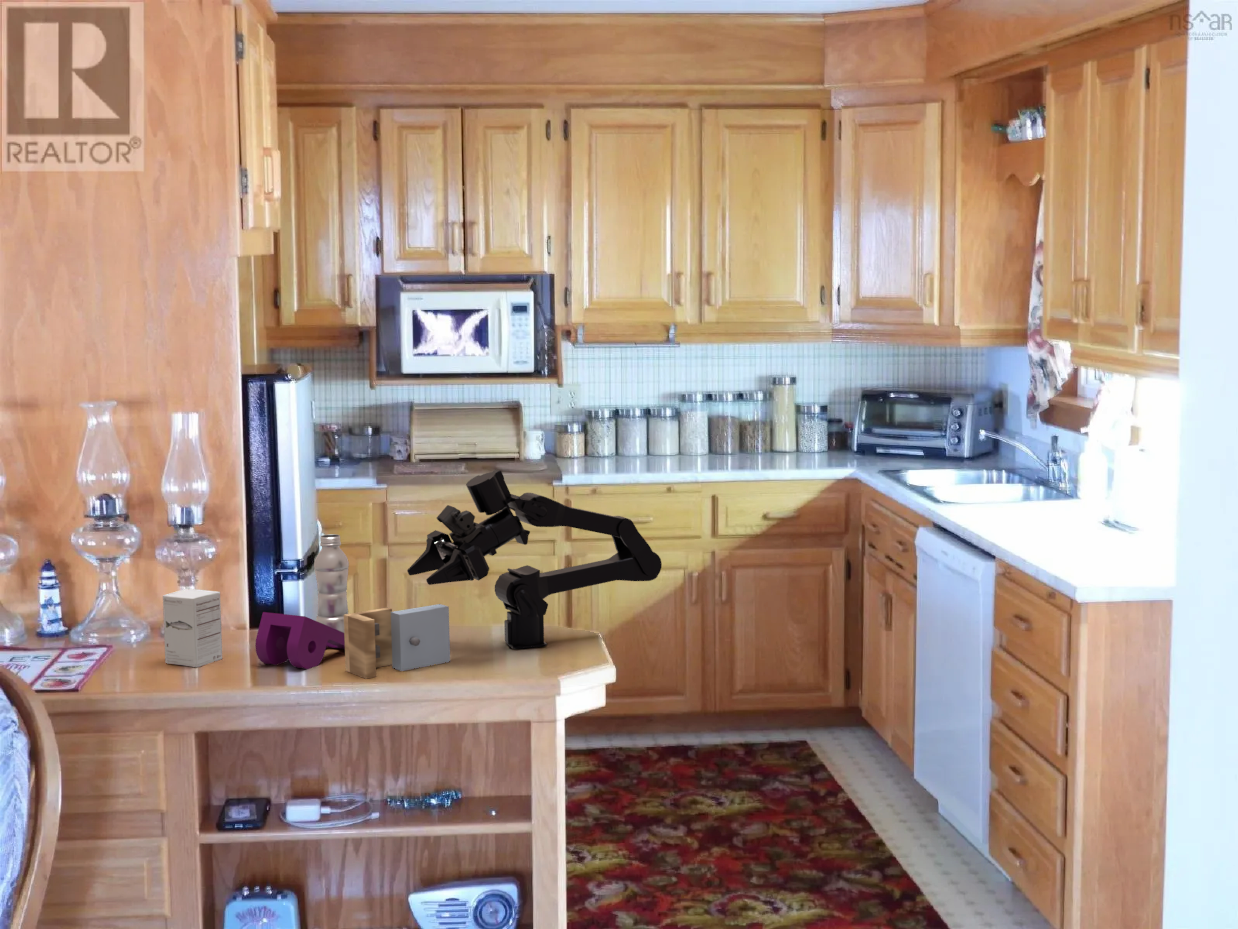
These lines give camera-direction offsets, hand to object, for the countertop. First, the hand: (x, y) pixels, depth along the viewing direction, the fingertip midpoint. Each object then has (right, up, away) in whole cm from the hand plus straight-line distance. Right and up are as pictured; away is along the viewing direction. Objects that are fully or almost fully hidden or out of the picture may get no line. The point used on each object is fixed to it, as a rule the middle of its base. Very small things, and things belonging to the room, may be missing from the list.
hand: (417, 577), depth 264 cm
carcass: (-6, -16, -6) cm, 18 cm away
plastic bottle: (-18, -13, +18) cm, 29 cm away
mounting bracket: (-20, -15, +4) cm, 25 cm away
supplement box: (-41, -15, +2) cm, 43 cm away
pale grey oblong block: (+1, -15, -3) cm, 15 cm away
